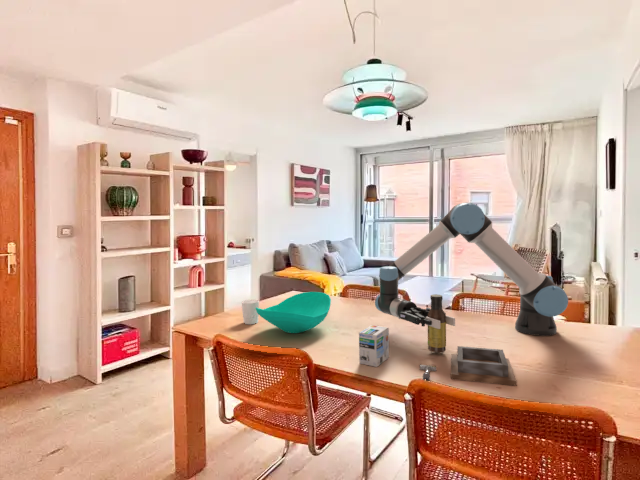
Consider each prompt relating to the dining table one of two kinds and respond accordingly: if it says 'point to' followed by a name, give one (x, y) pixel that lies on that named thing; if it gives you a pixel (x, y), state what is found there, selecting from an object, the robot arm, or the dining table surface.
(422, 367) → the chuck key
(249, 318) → the white cup
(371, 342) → the light bulb box
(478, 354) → the grey square tray
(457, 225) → the robot arm
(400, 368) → the dining table surface
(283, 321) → the table top decor
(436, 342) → the sauce bottle
